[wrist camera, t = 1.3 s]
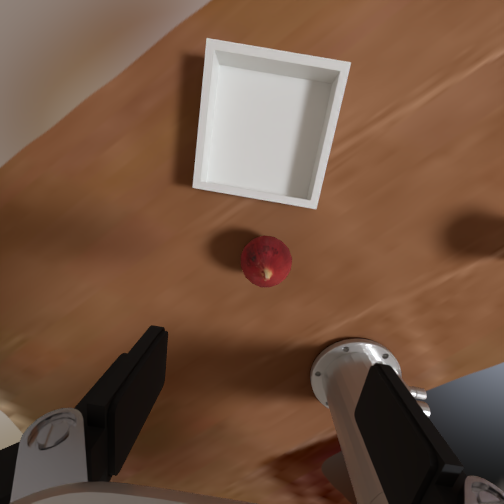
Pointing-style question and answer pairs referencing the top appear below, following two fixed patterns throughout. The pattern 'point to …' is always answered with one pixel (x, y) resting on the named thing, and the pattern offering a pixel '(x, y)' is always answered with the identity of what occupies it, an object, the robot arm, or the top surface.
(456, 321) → the top surface
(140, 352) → the robot arm
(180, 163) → the top surface
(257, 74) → the box
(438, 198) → the top surface
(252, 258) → the onion
